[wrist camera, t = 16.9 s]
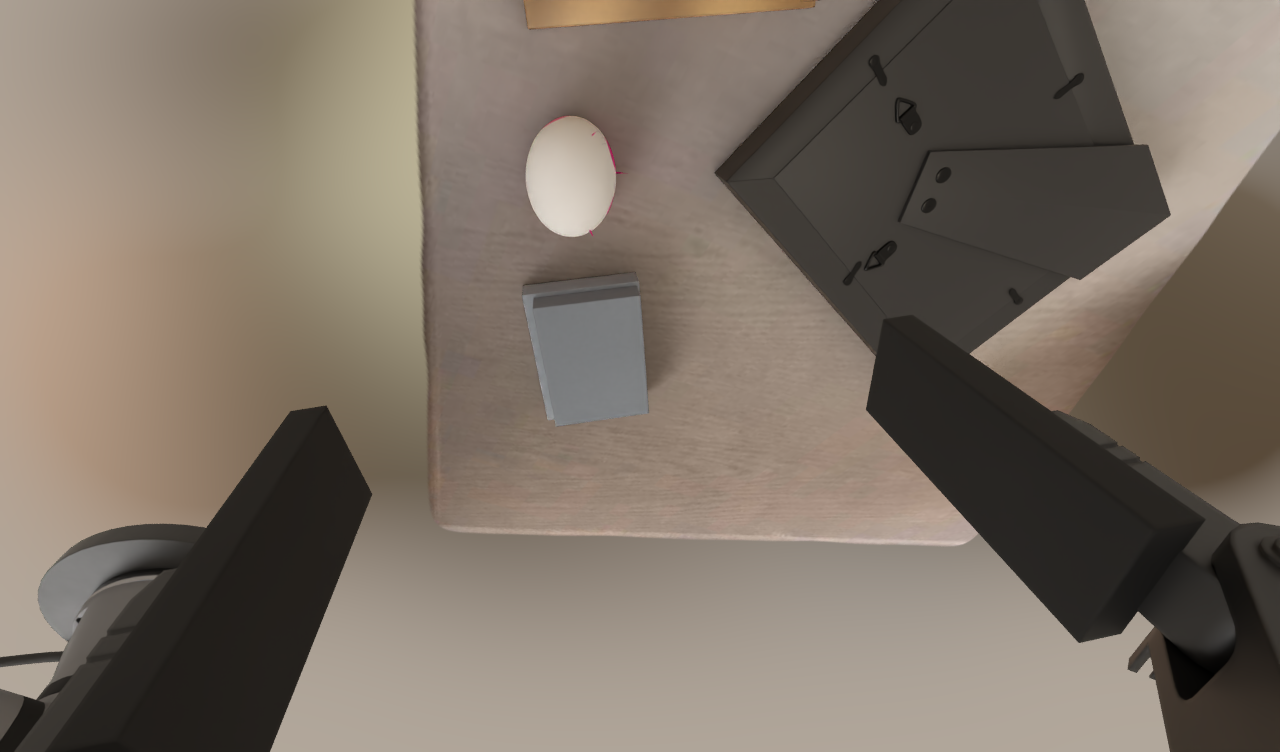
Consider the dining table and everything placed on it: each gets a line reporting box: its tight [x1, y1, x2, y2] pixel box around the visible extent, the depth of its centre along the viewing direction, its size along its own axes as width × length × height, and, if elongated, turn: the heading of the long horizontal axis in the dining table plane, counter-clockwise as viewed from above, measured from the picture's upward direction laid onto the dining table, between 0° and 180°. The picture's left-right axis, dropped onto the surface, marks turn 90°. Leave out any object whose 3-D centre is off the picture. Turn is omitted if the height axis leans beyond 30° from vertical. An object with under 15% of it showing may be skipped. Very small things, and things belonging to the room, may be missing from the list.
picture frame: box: [715, 0, 1171, 356], centre depth 39 cm, size 23×4×28 cm
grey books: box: [522, 272, 649, 426], centre depth 42 cm, size 9×12×4 cm
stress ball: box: [526, 116, 621, 237], centre depth 35 cm, size 8×8×7 cm
